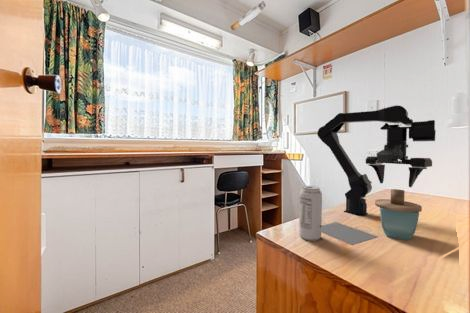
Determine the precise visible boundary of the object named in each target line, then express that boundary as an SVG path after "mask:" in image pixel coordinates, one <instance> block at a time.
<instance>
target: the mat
mask: <svg viewBox="0 0 470 313" xmlns="http://www.w3.org/2000/svg"><path fill="white" fill-rule="evenodd" d="M321 234H324V235H327V236H329V237H332V238H334V239H337V240H339V241H342V242H344V243H345V244H349V245H351V246H354V245H357V244H361V243H363V242H367V241H369V240H372V239H375V238H378V237H379V236H378V235H375V234H372V233H369V232H366V231H364V230H361V229H357V228H356V227H355V228H354V227H352V226H350V225H345V224H342V223H340V222H336V221H335V222H331V223H326V224H323V225H322V224H321Z"/></svg>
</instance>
